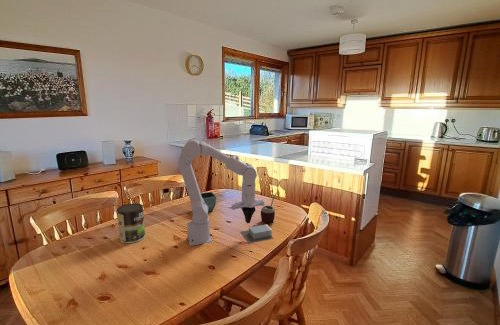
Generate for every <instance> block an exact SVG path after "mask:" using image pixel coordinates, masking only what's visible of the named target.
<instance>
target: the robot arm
mask: <svg viewBox="0 0 500 325" xmlns="http://www.w3.org/2000/svg"><path fill="white" fill-rule="evenodd" d="M199 155H200V157H204V156H210V157H211V158H213V159H215V160H218V161H219V162H220V163H221V162H222V163H223V164H225V168H226V169H227V170H230V171H231V172H232V173H233V172H234V173H235V174H236V175H238V176H242V182H241V201H239V202H236V203H235V202H234V203H232V204H231V209H232V210H233V211H235V210H237V209H241V211H242V213H243V215H244V220H245V223H246V224H251V220H252V218H253V215H254V214H255V211H256V207H259V206H262V207H264V206H265V201H264V199H261V200H256V179H257V177H258V175H257V171H256V169H255V167H254V166H253V165H252V164H249V162H245V161H242V160H241V159H240V157H238V155H237V156H234V155H232V156H228V155H227V154H225V153H223V152H222V151H220V150H218V149H217V148H215V147H213V146H212V145H211V144H208V143H207V142H205V141H203V140H200V139H198V138H197V137H194V138H193V137H192V138H190V139H189V140H188V141H187V142H186V143H185V145H184V146H183V147H182V148H181V152H180V155H179V158H178V161H177V164H178V167H179V171H180V173H181V176H182V179H183V182H184V186H185V189H186V191H187V195H188V197H189V200H190V203H191V205H190V206H191V211H192V220H190V221H189V222H187V224H186V226H187V227H186V228H187V240H188V244H189V246H191V247H193V246H197V245H202V244H203V245H204V244H208V243H213V239H212V237H211V232H210V229H211V228H210V226H211V224H210V218H209V215H208V214H209V211H208V210H209V208H208V206H207V204H206V203H205V202H204V199H203V198H202V196H201V193H202V192H201V190H200V186H199V183H198V181H197V178H196V175H195V172H194V168H193V166H192V162H193V161H194V159H196V158H197V157H198V156H199Z"/></svg>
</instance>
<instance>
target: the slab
mask: <svg viewBox="0 0 500 325" xmlns="http://www.w3.org/2000/svg"><path fill="white" fill-rule="evenodd" d="M248 230H249V234H250V235H251V236H252V238H253V239H257V238H263V237H268V236H272V237H273V229H272V228H271V227H270V226H269V225H268V224H266V223H265V224H261V225H255V226H249V227H248Z"/></svg>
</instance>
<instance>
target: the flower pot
mask: <svg viewBox="0 0 500 325" xmlns="http://www.w3.org/2000/svg"><path fill="white" fill-rule="evenodd" d="M200 193H201V196H202V198H203V199H204V202H205V203H206V204H207V206H208V208H209V210H208V212H212V211H214V209H215V207H216V204H217V203H216V202H217V195H215V193H213V192H212V191H209V192H200Z"/></svg>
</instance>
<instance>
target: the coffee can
mask: <svg viewBox="0 0 500 325" xmlns="http://www.w3.org/2000/svg"><path fill="white" fill-rule="evenodd" d="M116 212H117V222H118V228H119V230H118V232H119V241H120V242H121V243H123V244H134V243H138V242H140V241H142V240H144V238H146V229H145V215H144V205H143V204H142V203H138V202H137V203H135V202H134V203H126V204H123V205H120V206H118V208H117V209H116Z"/></svg>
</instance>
